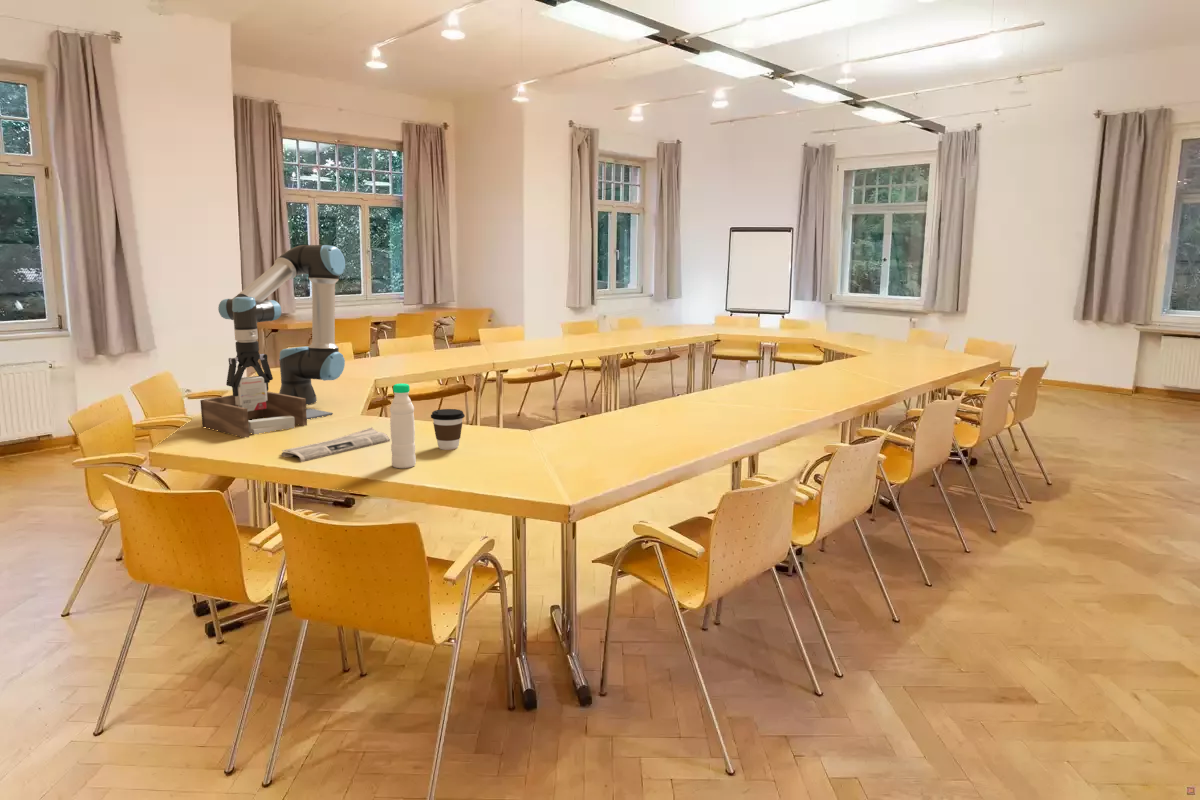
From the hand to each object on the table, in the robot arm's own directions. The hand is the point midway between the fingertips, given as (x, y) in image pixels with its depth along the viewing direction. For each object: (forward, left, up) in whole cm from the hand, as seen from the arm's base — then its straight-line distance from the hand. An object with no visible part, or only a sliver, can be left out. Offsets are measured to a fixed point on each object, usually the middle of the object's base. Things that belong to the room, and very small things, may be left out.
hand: (251, 402), depth 286 cm
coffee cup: (-20, +78, -9) cm, 81 cm away
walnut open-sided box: (0, +2, -9) cm, 9 cm away
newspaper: (+2, +50, -9) cm, 51 cm away
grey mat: (-23, 0, -9) cm, 24 cm away
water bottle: (+4, +83, -9) cm, 84 cm away
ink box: (0, 0, -3) cm, 3 cm away
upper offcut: (0, +12, -7) cm, 13 cm away
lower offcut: (0, +12, -9) cm, 15 cm away
